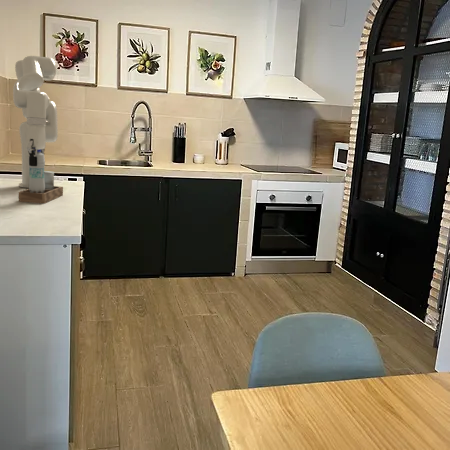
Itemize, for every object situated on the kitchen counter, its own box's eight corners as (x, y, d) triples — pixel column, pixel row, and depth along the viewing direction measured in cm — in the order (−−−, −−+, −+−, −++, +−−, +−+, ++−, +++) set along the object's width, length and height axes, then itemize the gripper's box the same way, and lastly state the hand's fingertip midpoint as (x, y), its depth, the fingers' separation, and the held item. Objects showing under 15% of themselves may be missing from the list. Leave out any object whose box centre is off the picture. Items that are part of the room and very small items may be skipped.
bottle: (48, 193, 217) (48, 146, 213) (37, 195, 211) (36, 147, 207) (37, 191, 220) (36, 145, 215) (25, 193, 214) (24, 145, 209)
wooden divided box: (39, 193, 232) (39, 169, 229) (62, 195, 232) (62, 171, 229) (18, 201, 210) (18, 175, 208) (44, 203, 210) (44, 177, 208)
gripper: (35, 121, 217) (36, 162, 221) (18, 121, 200) (19, 166, 204) (53, 122, 217) (53, 163, 221) (37, 123, 200) (37, 167, 204)
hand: (36, 164), depth 213 cm, fingers closed on bottle, 6 cm apart
